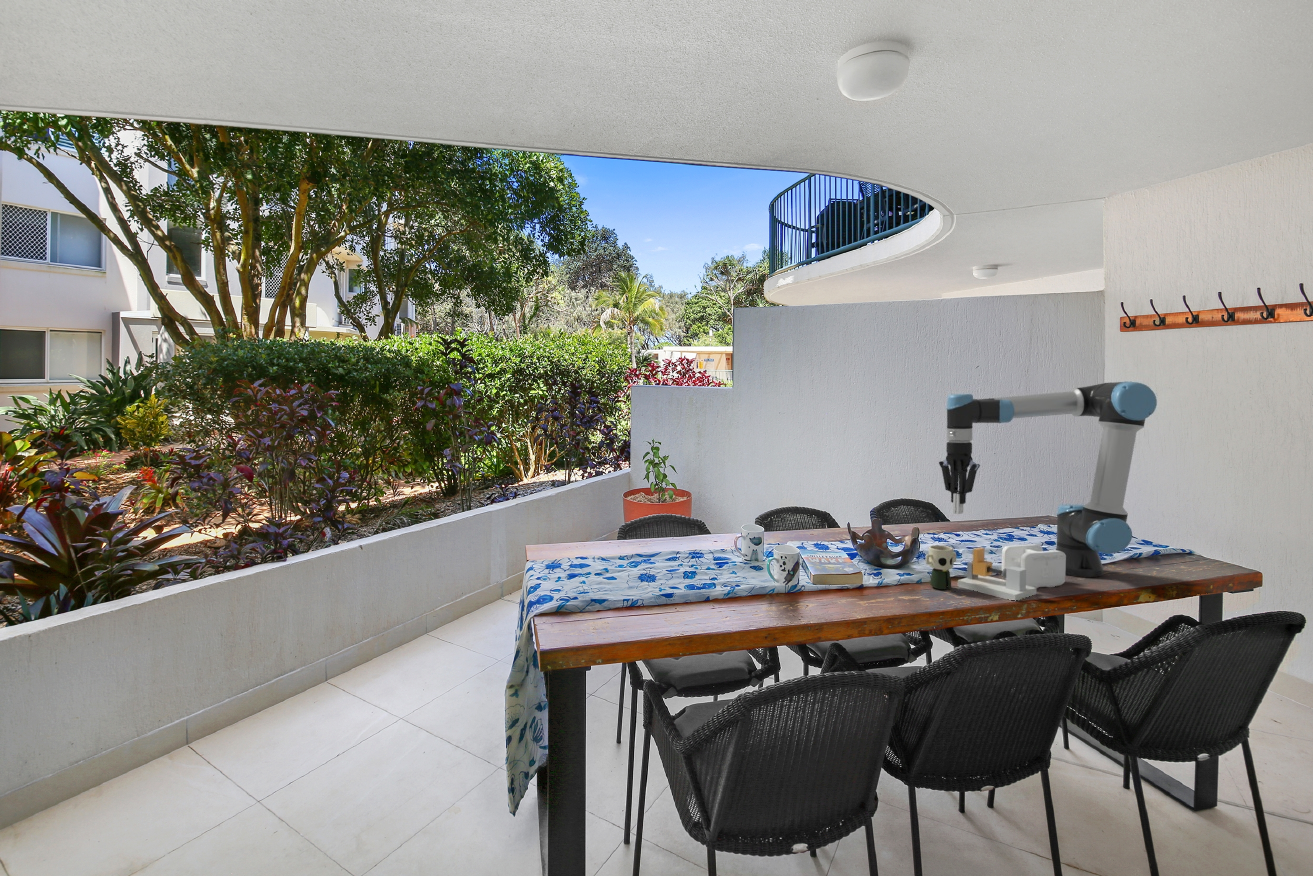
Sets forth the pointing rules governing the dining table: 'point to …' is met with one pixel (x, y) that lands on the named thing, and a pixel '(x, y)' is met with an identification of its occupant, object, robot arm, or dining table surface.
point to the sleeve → (980, 563)
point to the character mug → (940, 565)
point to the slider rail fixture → (999, 583)
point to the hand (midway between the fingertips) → (958, 513)
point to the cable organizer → (1036, 564)
